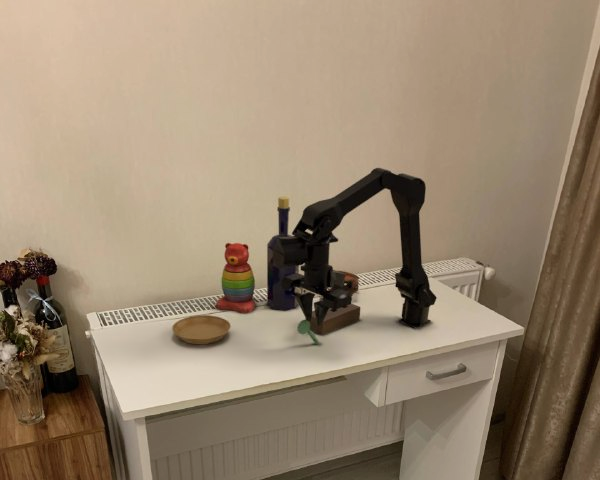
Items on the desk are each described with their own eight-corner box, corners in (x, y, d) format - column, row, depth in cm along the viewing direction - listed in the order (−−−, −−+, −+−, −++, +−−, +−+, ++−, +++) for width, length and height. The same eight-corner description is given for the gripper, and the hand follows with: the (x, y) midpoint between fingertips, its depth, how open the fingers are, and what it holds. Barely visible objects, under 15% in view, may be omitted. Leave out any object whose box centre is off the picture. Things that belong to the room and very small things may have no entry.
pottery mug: (319, 294, 185) (327, 268, 185) (343, 303, 190) (350, 278, 190) (342, 297, 175) (350, 269, 175) (366, 307, 180) (375, 280, 180)
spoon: (322, 340, 155) (306, 318, 147) (314, 351, 154) (298, 330, 146) (319, 338, 155) (303, 316, 147) (311, 349, 155) (294, 328, 147)
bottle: (285, 313, 171) (286, 204, 156) (260, 305, 176) (259, 198, 160) (304, 303, 177) (308, 197, 162) (280, 296, 182) (281, 192, 167)
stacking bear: (213, 308, 173) (210, 246, 164) (228, 296, 181) (225, 236, 172) (248, 314, 170) (247, 251, 161) (262, 301, 178) (261, 241, 169)
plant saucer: (176, 351, 150) (175, 341, 148) (170, 326, 162) (169, 317, 160) (235, 345, 153) (235, 335, 152) (225, 321, 165) (225, 312, 164)
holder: (359, 320, 168) (360, 306, 166) (322, 335, 159) (323, 321, 157) (342, 313, 172) (343, 300, 170) (304, 327, 163) (305, 313, 161)
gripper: (369, 264, 142) (364, 326, 150) (312, 245, 153) (310, 304, 161) (336, 275, 135) (333, 339, 143) (280, 254, 147) (279, 315, 155)
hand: (314, 323), depth 151 cm, fingers open, 3 cm apart
